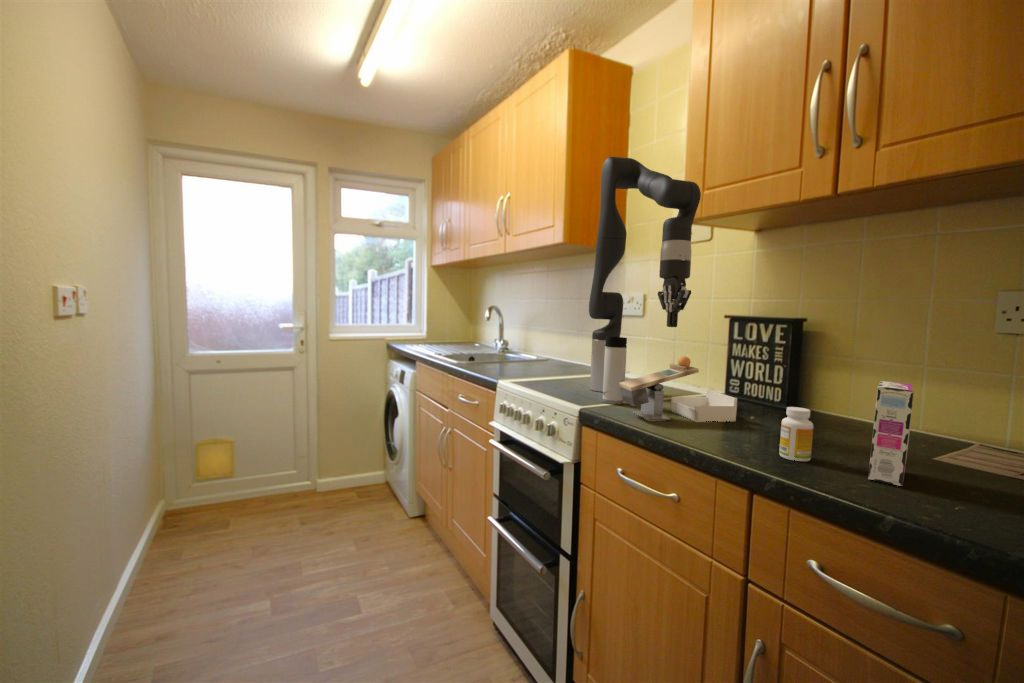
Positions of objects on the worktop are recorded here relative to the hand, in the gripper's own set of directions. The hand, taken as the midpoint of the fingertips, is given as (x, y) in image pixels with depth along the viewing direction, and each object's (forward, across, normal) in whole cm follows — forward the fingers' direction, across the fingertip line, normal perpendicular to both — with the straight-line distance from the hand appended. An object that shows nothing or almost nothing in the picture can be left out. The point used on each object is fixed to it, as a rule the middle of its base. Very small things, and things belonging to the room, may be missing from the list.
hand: (671, 326), depth 123 cm
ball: (+9, 0, +4) cm, 10 cm away
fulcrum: (+24, 0, -4) cm, 24 cm away
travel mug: (+24, -18, -7) cm, 31 cm away
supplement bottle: (+24, +34, +8) cm, 42 cm away
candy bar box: (+25, +45, +18) cm, 54 cm away
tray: (+24, 0, +10) cm, 26 cm away
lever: (+18, 0, -2) cm, 18 cm away
